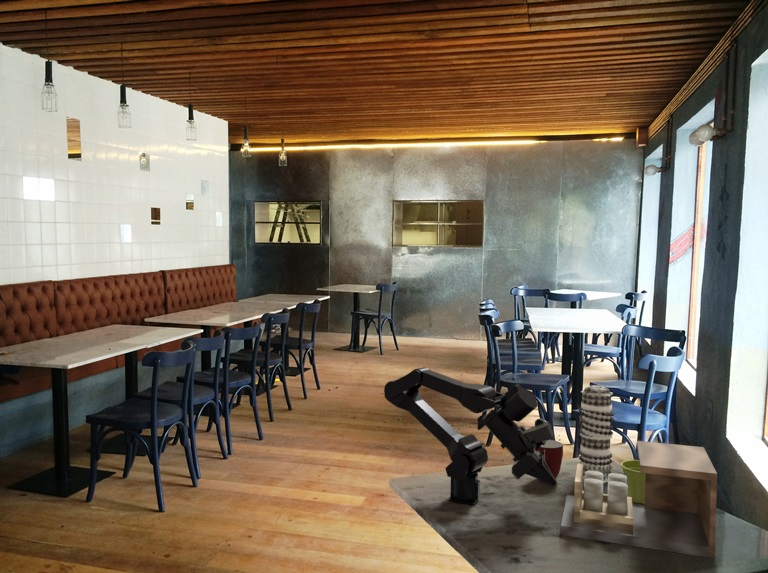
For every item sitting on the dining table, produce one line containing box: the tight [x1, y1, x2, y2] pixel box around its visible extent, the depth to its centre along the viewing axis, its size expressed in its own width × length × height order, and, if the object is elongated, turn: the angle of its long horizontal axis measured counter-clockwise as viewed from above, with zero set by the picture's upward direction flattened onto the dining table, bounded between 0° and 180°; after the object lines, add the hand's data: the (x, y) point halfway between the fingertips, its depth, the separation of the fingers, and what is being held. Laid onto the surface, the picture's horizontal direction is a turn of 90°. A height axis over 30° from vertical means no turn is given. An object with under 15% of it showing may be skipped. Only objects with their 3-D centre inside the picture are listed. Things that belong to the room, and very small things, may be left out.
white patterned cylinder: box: [578, 384, 615, 484], centre depth 169 cm, size 9×9×25 cm
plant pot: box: [620, 459, 645, 505], centre depth 153 cm, size 9×9×9 cm
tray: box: [573, 463, 633, 530], centre depth 139 cm, size 12×13×9 cm
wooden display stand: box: [560, 440, 718, 559], centre depth 137 cm, size 30×19×17 cm, turn 70°
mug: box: [536, 439, 564, 483], centre depth 165 cm, size 10×8×10 cm
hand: (555, 484), depth 142 cm, fingers closed
